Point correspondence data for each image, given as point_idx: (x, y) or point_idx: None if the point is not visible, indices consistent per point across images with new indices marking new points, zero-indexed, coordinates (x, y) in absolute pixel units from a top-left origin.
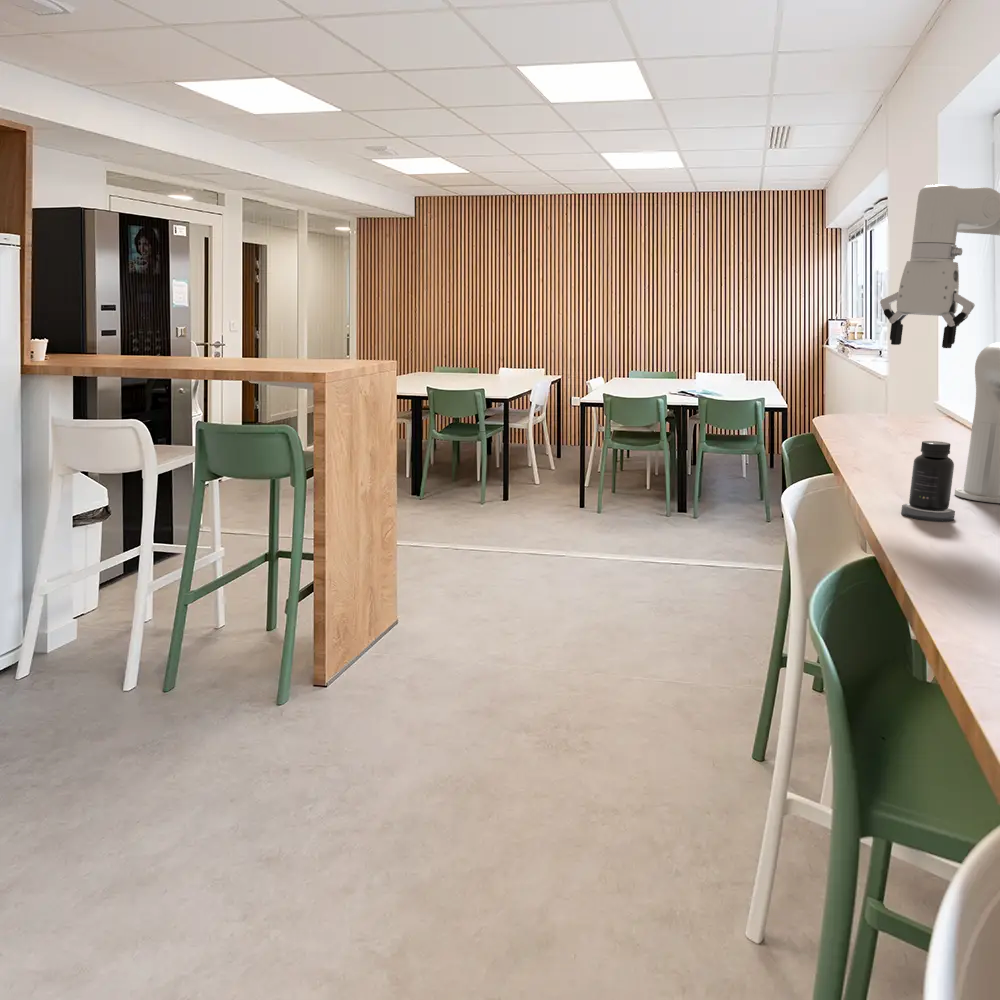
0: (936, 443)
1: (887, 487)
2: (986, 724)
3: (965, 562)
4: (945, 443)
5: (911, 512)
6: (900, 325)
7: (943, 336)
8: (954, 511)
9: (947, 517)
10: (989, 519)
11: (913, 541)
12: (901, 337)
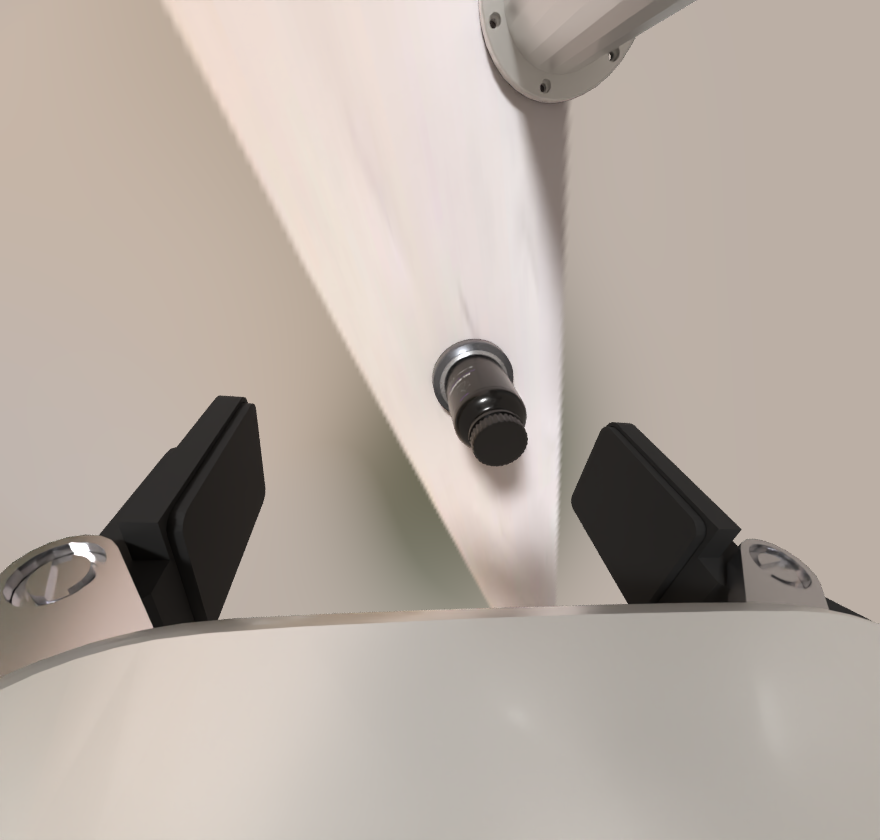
0: (502, 456)
1: (302, 47)
2: None
3: (536, 557)
4: (518, 443)
5: None
6: (199, 568)
7: (601, 554)
8: (512, 371)
9: None
10: (559, 317)
11: (483, 524)
12: (236, 432)
